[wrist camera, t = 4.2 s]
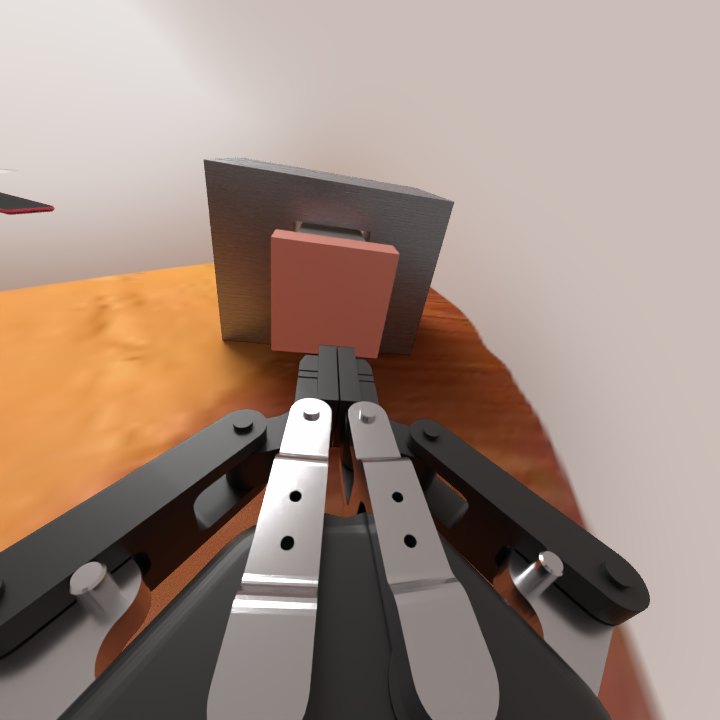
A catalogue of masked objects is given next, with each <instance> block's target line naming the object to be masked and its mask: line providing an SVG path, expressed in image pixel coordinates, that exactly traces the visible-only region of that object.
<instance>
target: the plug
mask: <svg viewBox="0 0 720 720" xmlns="http://www.w3.org/2000/svg"><path fill="white" fill-rule="evenodd" d="M399 256H400V254H399V253H398V251H397V250H396V249H395V247H394V246H392V245H385V244H378V243H371V242H366V241H365V239H364V237H363V235H362V233H361V231H360V230H354V229H347V228H340V227H333V226H326V225H319V224H313V223H306V222H302V223H301V226H300V229H299V232H292V231H285V230H278V229H276V230H275V231H274V233H273V234H272V236H271V350H274V351H287V352H300V353H313V354H318V350H319V344H321V345H332V346H336V348H337V346H344V347H354V350H355V357H365V358H377V356H378V352H379V347H380V343H381V338H382V333H383V329H384V324H385V320H386V315H387V311H388V306H389V301H390V297H391V292H392V288H393V283H394V279H395V274H396V269H397V265H398V260H399Z"/></svg>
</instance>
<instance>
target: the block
mask: <svg viewBox="0 0 720 720" xmlns="http://www.w3.org/2000/svg"><path fill="white" fill-rule="evenodd" d="M204 168H205V177H206V186H207V197H208V205H209V216H210V226H211V236H212V245H213V254H214V265H215V274H216V284H217V294H218V303H219V313H220V323H221V333H222V340H229V341H242V342H254V343H267V344H271V236H272V234H273V233H274V231H275V230H276V229H278V230H285V231H292V232H299V229H300V226H301V223H302V222H306V223H313V224H319V225H326V226H333V227H340V228H347V229H354V230H360V231H361V233H362V235H363V237H364V239H365V241H366V242H371V243H378V244H385V245H392V246H394V247H395V249H396V250H397V251H398V253H399V254H400V256H399V260H398V265H397V269H396V274H395V279H394V283H393V288H392V292H391V297H390V301H389V306H388V311H387V315H386V320H385V324H384V329H383V333H382V338H381V343H380V347H379V353H392V354H404V355H410V354H411V351H412V347H413V344H414V340H415V337H416V333H417V330H418V326H419V323H420V319H421V316H422V313H423V309H424V306H425V302H426V299H427V295H428V292H429V288H430V284H431V281H432V278H433V274H434V271H435V267H436V264H437V260H438V257H439V253H440V250H441V246H442V243H443V239H444V236H445V232H446V229H447V225H448V222H449V218H450V215H451V211H452V208H453V204H454V202H453V201H450V200H447V199H445V198H442V197H439V196H436V195H433V194H431V193H428V192H425V191H422V190H420V189H417V188H413V187H407V186H401V185H396V184H390V183H384V182H378V181H373V180H366V179H361V178H356V177H350V176H344V175H338V174H333V173H327V172H321V171H315V170H310V169H304V168H298V167H292V166H287V165H281V164H275V163H269V162H264V161H258V160H252V159H246V158H227V159H204Z"/></svg>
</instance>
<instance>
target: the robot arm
mask: <svg viewBox="0 0 720 720" xmlns="http://www.w3.org/2000/svg"><path fill="white" fill-rule="evenodd" d="M332 441H333V447H340V460H339V472H340V480H341V488H342V496H343V504H344V514H345V518H342V517H338V516H334V515H330V514H326V513H324V508H325V496H326V484H327V473H328V451H329V447H332ZM436 472H437V473H438V474H439V475H440V476H441V477H442V478H444V479H445V480H446V481H447V482H448V483H450V484H451V485H452V486H453V487H454V488H456V489H457V490H458V491H459V492H460V493H461V494H462V495H463V496H464V497H465V498H466V500H467V502H466V501H465V500H464V499H463V498H461V497H460V496H459V495H458V494H457V493H456V492H454V491H453V490H452V489H451V488H450V487H449V486H447V485H446V484H445V483H444V482H443V481H441V480H440V479H439V478H438V477H437V476H436ZM267 483H268V485H267V489H266V493H265V497H264V500H263V504H262V508H261V512H260V515H259V519H258V523H257V525H254V526H252V527H250V528H248V529H247V530H245V531H243V532H242V533H240V534H239V535H237V536H236V537H235V538H233V539H232V540H231V541H230V542H229V543H227V544H226V545H225V546H224V547H223V548H222V549H221V550H220V551H219V552H218V553H217V554H216V555H215V557H214V558H213V559H212V560H211V561H210V562H209V563H208V564H207V565H206V566H205V567H204V568H203V569H202V570H201V571H200V572H199V573H198V574H197V575H196V576H195V577H194V578H193V579H192V580H191V581H190V582H189V583H188V584H187V585H186V586H185V587H184V588H183V590H182V591H181V592H180V593H179V594H178V595H177V596H176V597H175V598H174V599H173V600H172V601H171V602H170V603H169V604H168V605H167V606H166V607H165V608H164V609H163V610H162V611H161V612H160V613H159V614H158V615H157V616H156V617H155V618H154V619H153V620H152V621H151V623H150V624H149V625H148V626H147V627H146V628H145V629H144V630H143V631H142V632H141V633H140V634H139V635H138V636H137V637H136V638H135V639H134V640H133V641H132V642H131V643H130V644H129V645H128V646H127V647H126V648H125V649H124V650H123V648H124V647H125V645H126V644H127V642H128V641H129V640H130V639H131V637H132V636H133V635H134V634H135V633H136V632H137V630H138V629H139V628H140V627H141V625H142V624H143V622H144V620H145V619H146V617H147V614H148V612H149V609H150V605H151V591H152V590H154V589H155V588H156V587H157V586H158V585H159V584H160V583H161V582H162V581H163V580H164V579H166V578H167V577H168V576H169V575H170V574H171V573H172V572H173V571H174V570H175V569H177V568H178V567H179V566H180V565H181V564H182V563H183V562H184V561H185V560H186V559H187V558H189V557H190V556H191V555H192V554H193V553H194V552H195V551H196V550H197V549H198V548H200V547H201V546H202V545H203V544H204V543H205V542H206V541H207V540H208V539H209V538H211V537H212V536H213V535H214V534H215V533H216V532H217V531H218V530H219V529H220V528H221V527H223V526H224V525H225V524H226V523H227V522H228V521H229V520H230V519H231V518H232V517H234V516H235V515H236V514H237V513H238V512H239V511H240V510H241V509H242V508H243V507H244V506H246V505H247V504H248V503H249V502H250V501H251V500H252V499H253V498H254V497H255V496H257V495H258V494H259V493H260V492H261V491H262V490H263V489H264V487H265V486H266V484H267ZM437 531H438V532H439V533H440V534H441V535H440V534H439V533H438V532H437ZM458 551H459V552H460V553H461V554H462V555H463V556H464V557H465V558H466V559H467V560H468V561H469V562H470V563H471V564H472V565H473V566H474V567H475V568H476V569H477V570H478V571H479V572H480V573H481V574H482V575H483V576H484V577H485V578H486V579H487V580H488V581H489V582H490V583H491V584H492V585H493V587H492V586H491V585H490V584H489V583H488V582H487V581H486V579H485V578H484V577H483V576H482V575H481V574H480V573H479V572H478V571H477V570H476V569H475V568H474V567H473V566H472V565H471V564H470V563H469V562H468V561H467V560H466V559H465V558H464V557H463V556H462V555H461V554H460V553H459V552H458ZM649 602H650V596H649V592H648V589H647V587H646V585H645V583H644V581H643V579H642V578H641V576H640V575H639V574H638V572H637V571H636V570H635V569H634V568H633V567H632V566H631V565H630V564H629V563H628V562H627V561H626V560H625V559H624V558H622V557H621V556H620V555H619V554H617V553H616V552H615V551H613V550H612V549H610V548H609V547H608V546H606V545H605V544H604V543H602V542H601V541H600V540H598V539H597V538H595V537H594V536H593V535H591V534H590V533H589V532H587V531H586V530H584V529H583V528H582V527H580V526H579V525H578V524H576V523H575V522H574V521H572V520H571V519H569V518H568V517H567V516H565V515H564V514H563V513H561V512H560V511H558V510H557V509H556V508H554V507H553V506H552V505H550V504H549V503H548V502H546V501H545V500H543V499H542V498H541V497H539V496H538V495H537V494H535V493H534V492H533V491H531V490H530V489H528V488H527V487H526V486H524V485H523V484H522V483H520V482H519V481H517V480H516V479H515V478H513V477H512V476H511V475H509V474H508V473H507V472H505V471H504V470H502V469H501V468H500V467H498V466H497V465H496V464H494V463H493V462H491V461H490V460H489V459H487V458H486V457H485V456H483V455H482V454H481V453H479V452H478V451H476V450H475V449H474V448H472V447H471V446H470V445H468V444H467V443H466V442H464V441H463V440H461V439H460V438H459V437H457V436H456V435H455V434H453V433H452V432H450V431H449V430H448V429H446V428H445V427H444V426H442V425H441V424H439V423H438V422H436V421H433V420H429V419H418V420H416V421H414V422H413V423H412V424H411V426H407V425H404V424H401V423H398V422H395V421H393V420H391V419H389V418H388V417H387V414H386V412H385V411H384V409H383V408H382V407H380V406H379V402H378V397H377V392H376V387H375V383H374V378H373V373H372V368H371V366H370V365H369V364H368V362H367V361H366V360H364V359H356V357H355V350H354V347H344V346H337V348H336V346H332V345H321V344H319V350H318V356H314V355H305V356H304V357H303V359H302V360H301V361H300V364H299V372H298V380H297V387H296V395H295V402H294V405H293V406H292V407H291V409H290V410H289V411H288V412H287V413H285V414H283V415H280V416H277V417H273V418H267V419H266V418H265V417H264V415H262V414H261V413H260V412H258V411H255V410H250V409H242V410H237V411H234V412H231V413H229V414H228V415H226V416H224V417H223V418H221V419H219V420H218V421H216V422H214V423H213V424H211V425H209V426H208V427H206V428H204V429H203V430H201V431H200V432H198V433H196V434H195V435H193V436H191V437H190V438H188V439H186V440H185V441H183V442H181V443H180V444H178V445H176V446H175V447H173V448H172V449H170V450H168V451H167V452H165V453H163V454H162V455H160V456H158V457H157V458H155V459H153V460H152V461H150V462H148V463H147V464H145V465H144V466H142V467H140V468H139V469H137V470H135V471H134V472H132V473H130V474H129V475H127V476H125V477H124V478H122V479H120V480H119V481H117V482H116V483H114V484H112V485H111V486H109V487H107V488H106V489H104V490H102V491H101V492H99V493H97V494H96V495H94V496H92V497H91V498H89V499H88V500H86V501H84V502H83V503H81V504H79V505H78V506H76V507H74V508H73V509H71V510H69V511H68V512H66V513H64V514H63V515H61V516H60V517H58V518H56V519H55V520H53V521H51V522H50V523H48V524H46V525H45V526H43V527H41V528H40V529H38V530H36V531H35V532H33V533H32V534H30V535H28V536H27V537H25V538H23V539H22V540H20V541H18V542H17V543H15V544H13V545H12V546H10V547H8V548H7V549H5V550H4V551H2V552H0V720H612V719H611V717H610V716H609V714H608V712H607V711H606V709H605V708H604V706H603V705H602V703H601V702H600V700H599V699H598V698H597V697H598V693H599V688H600V684H601V680H602V675H603V671H604V667H605V663H606V658H607V654H608V650H609V645H610V641H611V637H612V632H613V629H614V628H615V627H617V626H618V625H620V624H621V623H623V622H625V621H627V620H628V619H630V618H632V617H633V616H635V615H637V614H638V613H640V612H642V611H644V610H645V609H646V608H647V607H648V606H649ZM122 650H123V651H122ZM121 651H122V652H121Z"/></svg>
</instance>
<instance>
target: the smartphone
mask: <svg viewBox="0 0 720 720" xmlns="http://www.w3.org/2000/svg"><path fill="white" fill-rule="evenodd" d="M53 210H54V207H53V206H50V205H47V204H42V203H39V202H35V201H31V200H27V199H24V198H19V197H15V196H11V195H8V194H4V193H0V213H4V214H8V215H15V214H28V213H41V212H52V211H53Z"/></svg>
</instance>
